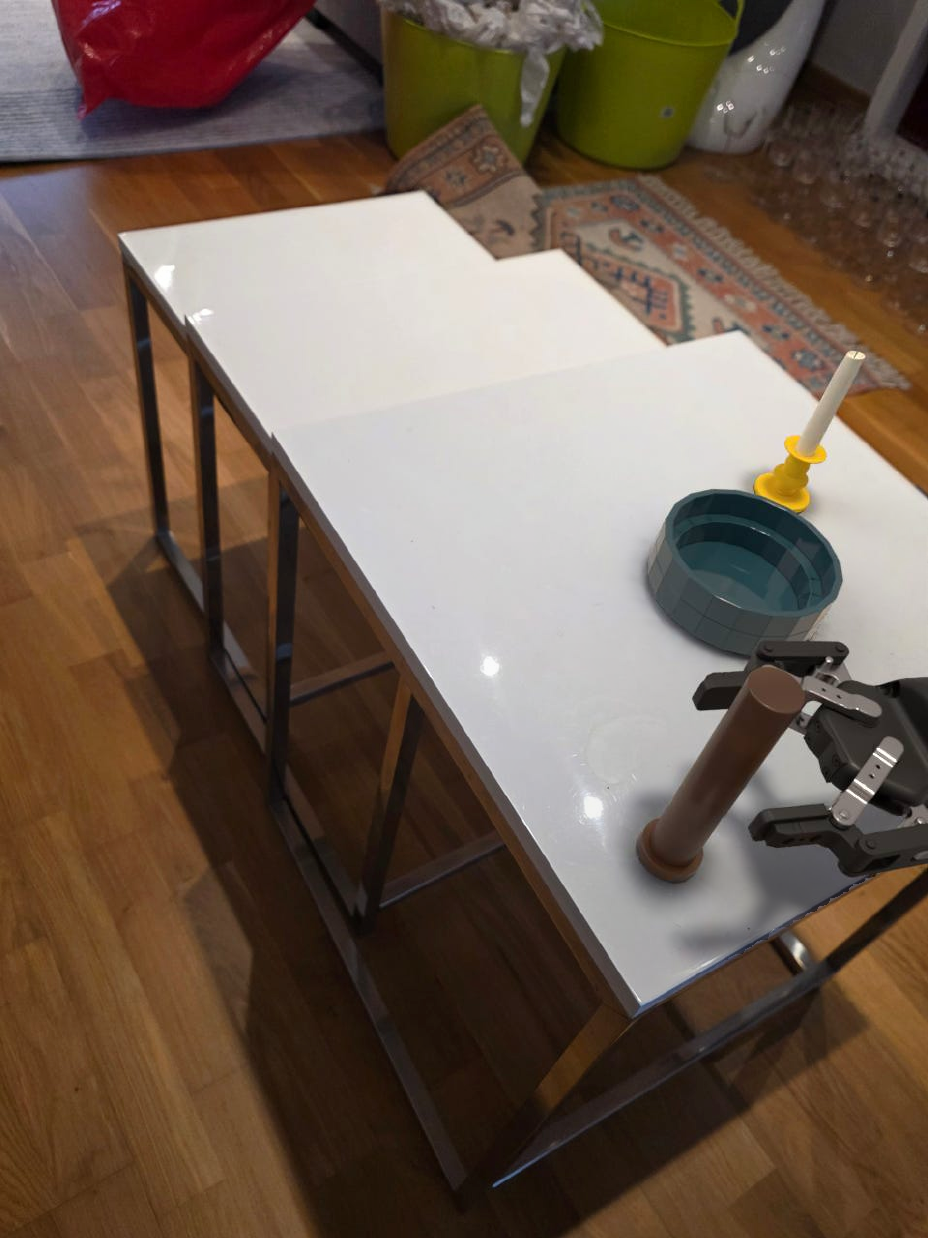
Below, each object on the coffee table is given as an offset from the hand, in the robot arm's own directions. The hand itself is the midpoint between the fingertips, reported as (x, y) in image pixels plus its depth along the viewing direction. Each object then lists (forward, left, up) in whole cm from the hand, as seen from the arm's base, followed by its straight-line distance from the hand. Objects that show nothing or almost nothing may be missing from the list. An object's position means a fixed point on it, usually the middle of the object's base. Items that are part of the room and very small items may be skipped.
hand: (725, 757), depth 52 cm
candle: (+27, -32, -11) cm, 44 cm away
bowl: (+18, -19, -11) cm, 29 cm away
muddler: (0, -1, -11) cm, 11 cm away
